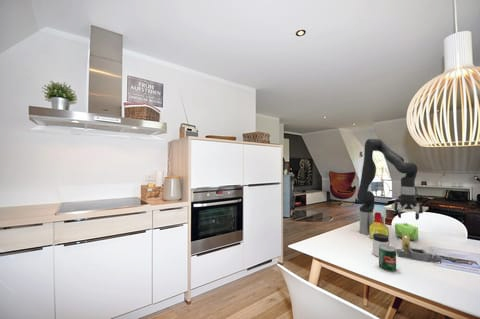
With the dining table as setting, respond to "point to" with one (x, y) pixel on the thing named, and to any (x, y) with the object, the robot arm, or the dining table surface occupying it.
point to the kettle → (406, 230)
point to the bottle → (378, 226)
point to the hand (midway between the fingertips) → (408, 218)
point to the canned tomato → (387, 258)
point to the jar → (379, 242)
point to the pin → (405, 242)
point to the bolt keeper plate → (418, 255)
